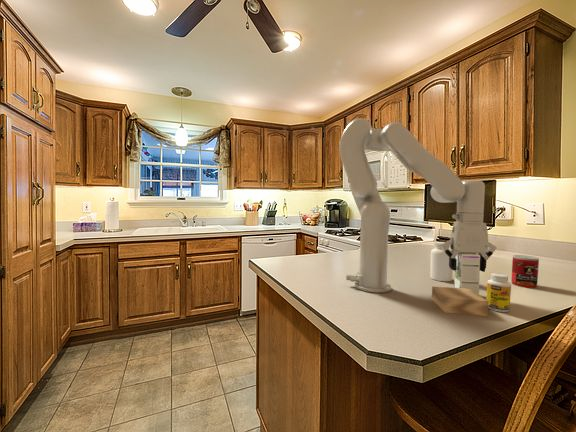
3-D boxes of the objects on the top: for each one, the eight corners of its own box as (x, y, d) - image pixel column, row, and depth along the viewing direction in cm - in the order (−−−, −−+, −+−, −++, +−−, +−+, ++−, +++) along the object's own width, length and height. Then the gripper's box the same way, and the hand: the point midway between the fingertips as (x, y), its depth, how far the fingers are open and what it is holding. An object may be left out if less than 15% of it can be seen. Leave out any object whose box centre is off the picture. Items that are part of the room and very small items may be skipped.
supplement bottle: (486, 310, 81) (488, 275, 81) (485, 304, 86) (486, 271, 85) (511, 314, 78) (513, 278, 78) (508, 308, 83) (510, 274, 82)
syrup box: (479, 298, 91) (481, 254, 90) (459, 297, 92) (461, 253, 91) (471, 293, 96) (473, 251, 96) (452, 291, 98) (454, 250, 97)
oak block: (444, 313, 79) (445, 297, 79) (431, 300, 90) (432, 286, 89) (487, 317, 77) (488, 301, 77) (469, 303, 88) (470, 288, 88)
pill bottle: (431, 275, 120) (433, 240, 119) (453, 278, 115) (454, 242, 114) (428, 279, 113) (429, 242, 112) (451, 283, 108) (452, 244, 108)
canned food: (515, 286, 105) (517, 257, 105) (508, 281, 113) (509, 254, 112) (541, 289, 102) (543, 259, 102) (531, 283, 110) (533, 255, 109)
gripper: (446, 218, 90) (444, 271, 91) (505, 219, 88) (502, 274, 89) (437, 217, 98) (435, 266, 99) (491, 218, 96) (488, 268, 96)
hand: (467, 269), depth 94 cm, fingers open, 8 cm apart
